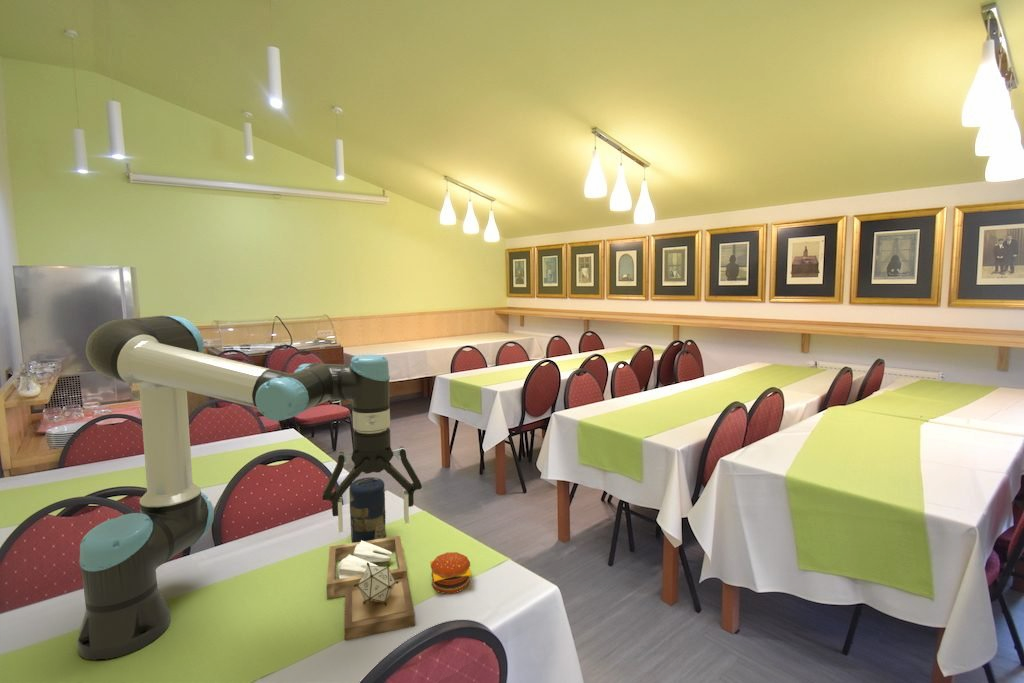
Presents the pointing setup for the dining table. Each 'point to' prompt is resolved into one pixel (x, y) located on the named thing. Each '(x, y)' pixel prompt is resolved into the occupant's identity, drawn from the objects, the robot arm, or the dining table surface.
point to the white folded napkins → (362, 559)
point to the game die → (376, 584)
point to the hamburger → (450, 572)
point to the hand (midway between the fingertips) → (374, 525)
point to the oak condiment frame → (339, 585)
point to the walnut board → (378, 612)
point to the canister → (367, 509)
